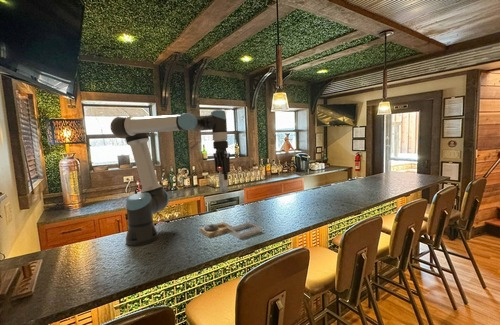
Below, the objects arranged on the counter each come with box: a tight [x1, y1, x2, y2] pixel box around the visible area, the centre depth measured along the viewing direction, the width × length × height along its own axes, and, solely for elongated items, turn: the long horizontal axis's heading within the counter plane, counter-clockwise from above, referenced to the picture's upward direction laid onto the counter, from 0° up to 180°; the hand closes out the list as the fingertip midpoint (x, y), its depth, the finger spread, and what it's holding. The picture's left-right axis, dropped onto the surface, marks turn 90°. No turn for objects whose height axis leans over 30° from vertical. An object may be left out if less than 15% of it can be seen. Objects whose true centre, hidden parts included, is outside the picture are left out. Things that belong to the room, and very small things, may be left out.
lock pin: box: [217, 167, 228, 194], centre depth 131 cm, size 5×5×14 cm
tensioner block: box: [199, 222, 233, 238], centre depth 132 cm, size 14×10×5 cm
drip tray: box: [227, 222, 262, 240], centre depth 129 cm, size 13×11×3 cm
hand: (223, 185), depth 131 cm, fingers closed on lock pin, 4 cm apart
